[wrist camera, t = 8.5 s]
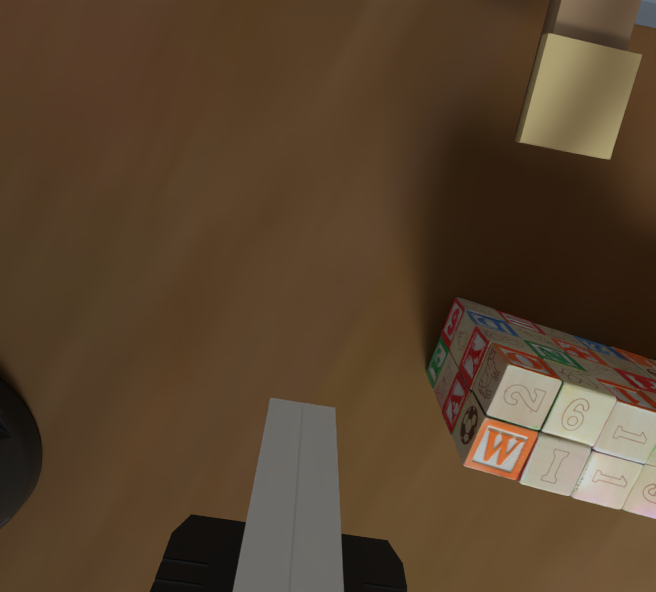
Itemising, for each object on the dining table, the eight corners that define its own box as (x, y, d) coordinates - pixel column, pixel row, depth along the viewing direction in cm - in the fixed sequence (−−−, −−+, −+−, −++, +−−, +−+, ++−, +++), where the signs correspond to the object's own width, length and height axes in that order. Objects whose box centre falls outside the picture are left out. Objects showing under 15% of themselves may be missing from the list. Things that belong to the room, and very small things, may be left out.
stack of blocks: (720, 378, 42) (878, 475, 30) (681, 449, 43) (815, 567, 32) (453, 295, 40) (508, 363, 28) (422, 372, 41) (462, 468, 30)
